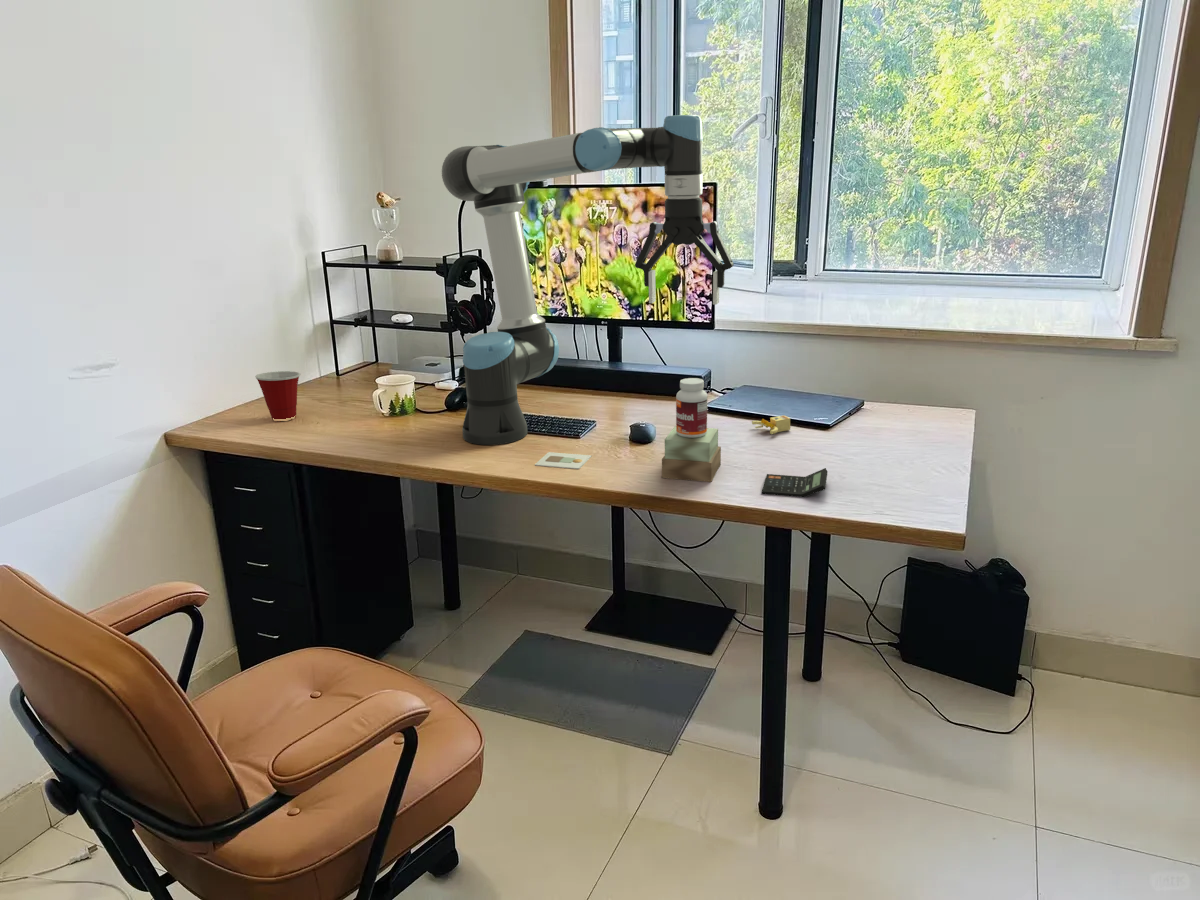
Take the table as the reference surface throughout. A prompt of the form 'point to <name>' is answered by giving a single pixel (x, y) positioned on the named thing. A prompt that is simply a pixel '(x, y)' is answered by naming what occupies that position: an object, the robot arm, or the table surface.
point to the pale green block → (691, 456)
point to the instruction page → (563, 460)
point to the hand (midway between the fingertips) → (683, 302)
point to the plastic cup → (280, 392)
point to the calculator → (795, 484)
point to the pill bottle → (691, 408)
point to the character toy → (775, 424)
